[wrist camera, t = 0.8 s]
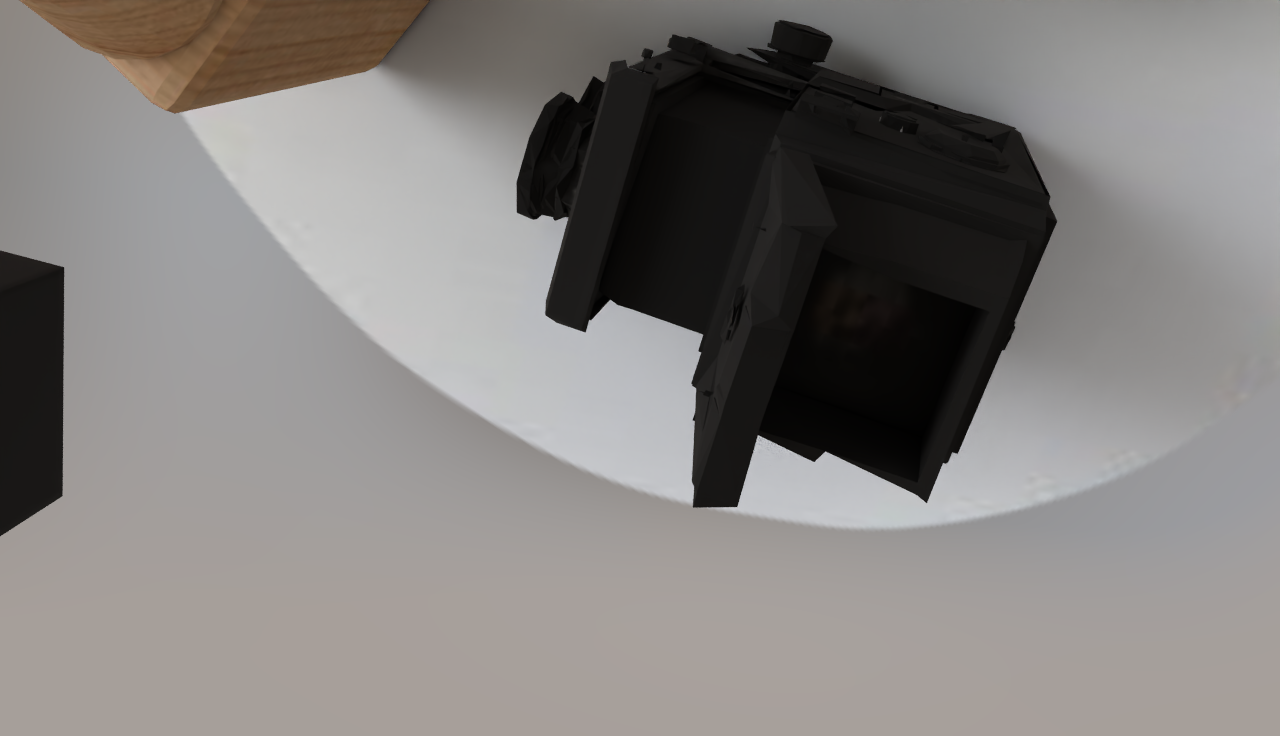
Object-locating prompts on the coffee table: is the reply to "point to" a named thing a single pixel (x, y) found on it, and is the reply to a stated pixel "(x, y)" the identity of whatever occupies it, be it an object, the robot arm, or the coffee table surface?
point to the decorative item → (231, 42)
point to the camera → (795, 247)
